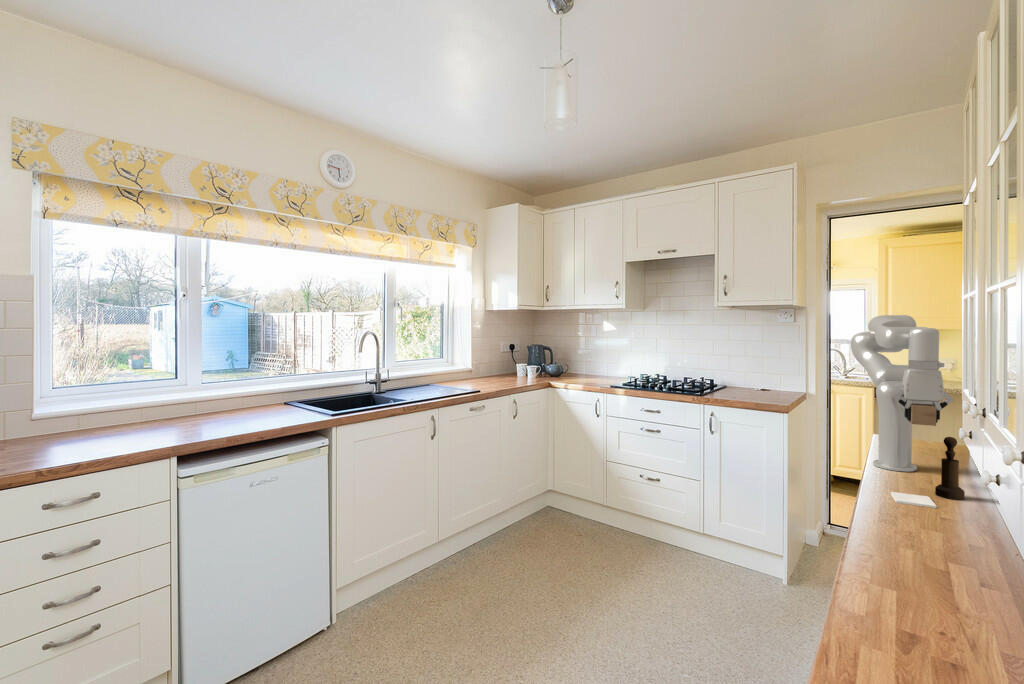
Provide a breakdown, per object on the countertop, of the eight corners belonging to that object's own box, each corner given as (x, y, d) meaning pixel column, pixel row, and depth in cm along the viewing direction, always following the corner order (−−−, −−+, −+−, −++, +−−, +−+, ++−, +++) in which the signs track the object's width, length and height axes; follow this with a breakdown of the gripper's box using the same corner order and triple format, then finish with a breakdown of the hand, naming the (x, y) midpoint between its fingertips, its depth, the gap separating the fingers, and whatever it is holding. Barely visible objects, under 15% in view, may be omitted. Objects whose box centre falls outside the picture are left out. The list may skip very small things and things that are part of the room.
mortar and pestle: (952, 493, 149) (953, 435, 149) (970, 500, 143) (971, 439, 142) (929, 492, 150) (930, 434, 149) (946, 499, 143) (947, 439, 143)
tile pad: (890, 493, 149) (890, 491, 149) (928, 498, 144) (928, 496, 144) (896, 502, 141) (896, 500, 141) (936, 508, 137) (936, 506, 136)
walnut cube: (908, 420, 162) (908, 402, 162) (931, 422, 159) (931, 404, 159) (911, 424, 157) (912, 405, 157) (936, 425, 154) (936, 407, 154)
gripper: (954, 365, 156) (953, 421, 157) (887, 364, 165) (886, 416, 166) (961, 368, 150) (960, 425, 151) (891, 366, 158) (890, 420, 159)
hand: (921, 420), depth 158 cm, fingers closed on walnut cube, 6 cm apart
